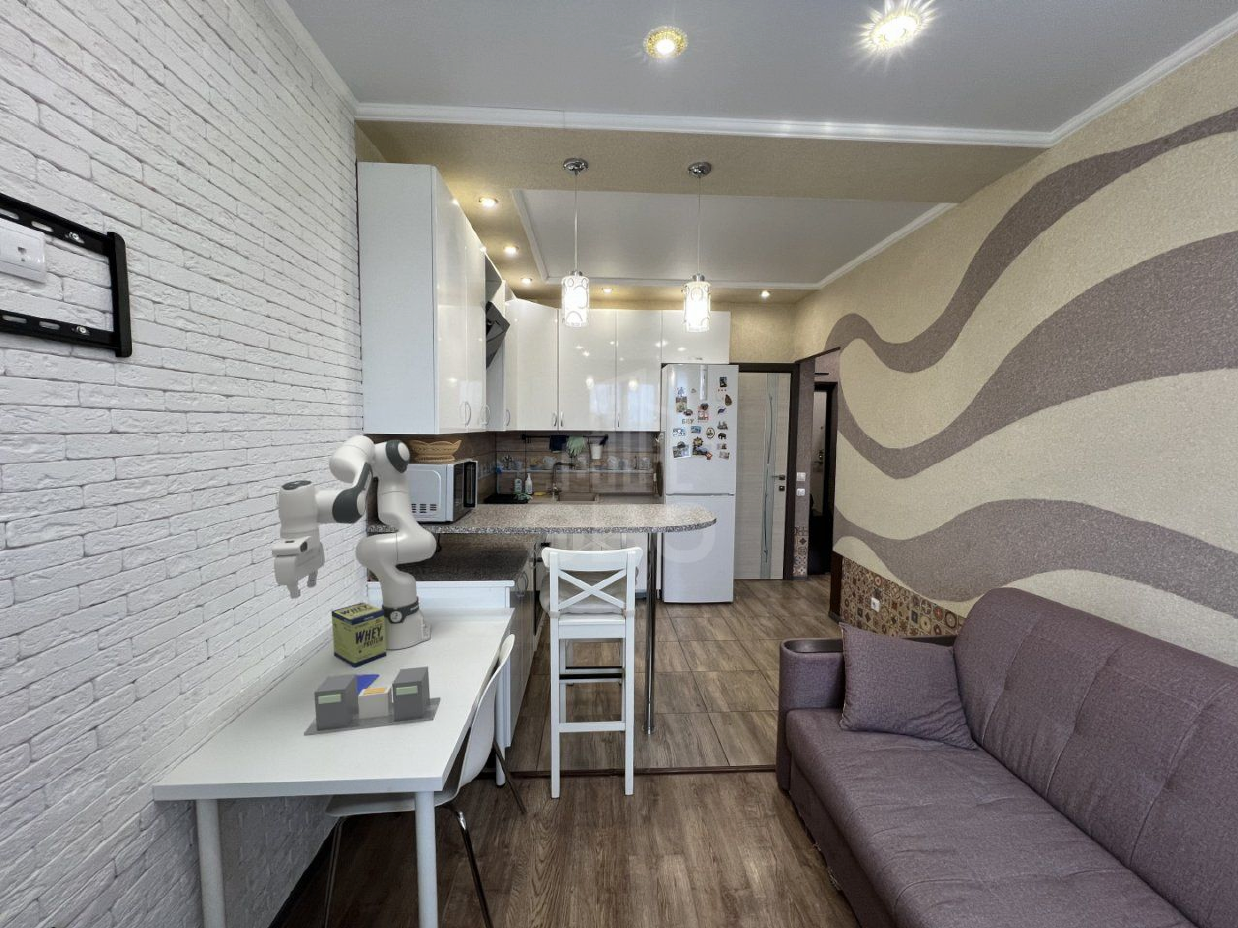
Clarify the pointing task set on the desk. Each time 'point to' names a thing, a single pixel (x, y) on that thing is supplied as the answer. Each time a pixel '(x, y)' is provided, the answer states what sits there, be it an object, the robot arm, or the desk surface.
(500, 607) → the desk surface
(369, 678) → the hard drive
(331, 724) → the block
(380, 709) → the loose module
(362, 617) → the protein box
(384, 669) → the desk surface
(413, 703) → the block
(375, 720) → the rail plate
